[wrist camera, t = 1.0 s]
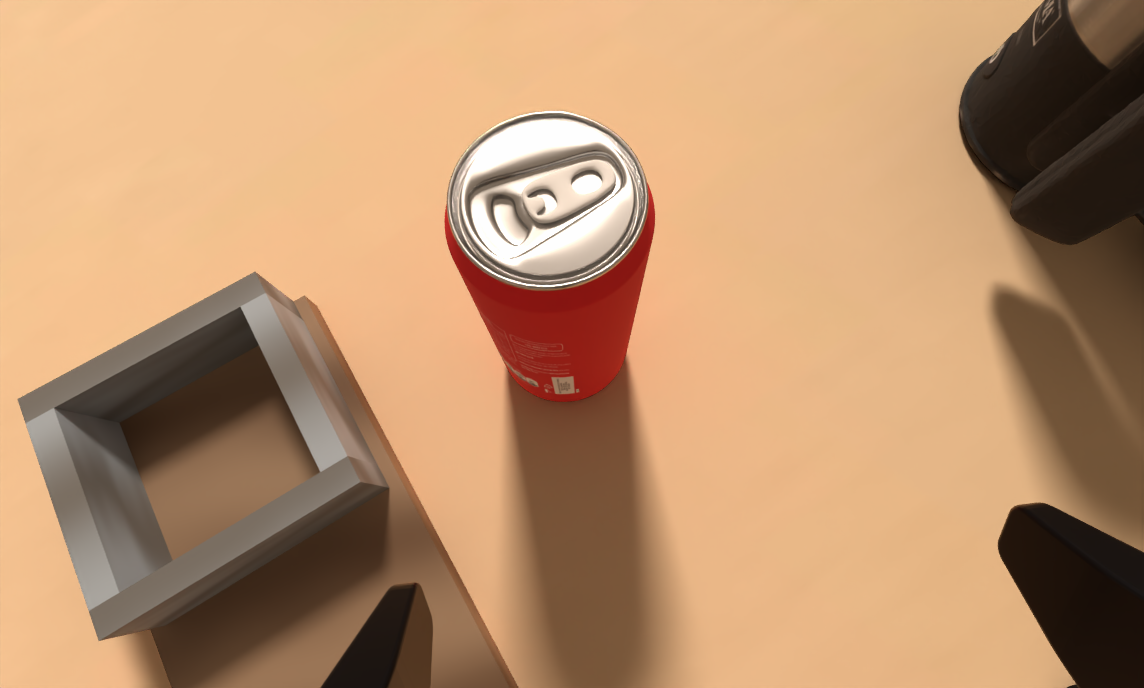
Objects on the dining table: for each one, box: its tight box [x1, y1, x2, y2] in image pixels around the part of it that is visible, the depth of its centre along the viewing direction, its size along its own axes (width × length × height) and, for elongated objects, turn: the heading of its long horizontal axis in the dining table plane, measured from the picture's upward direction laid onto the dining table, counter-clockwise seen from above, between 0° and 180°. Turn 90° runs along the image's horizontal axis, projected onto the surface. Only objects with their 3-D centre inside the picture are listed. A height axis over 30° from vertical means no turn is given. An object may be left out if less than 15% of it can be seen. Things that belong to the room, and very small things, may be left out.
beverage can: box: [445, 111, 655, 402], centre depth 19 cm, size 5×5×12 cm
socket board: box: [18, 272, 518, 688], centre depth 20 cm, size 21×10×4 cm, turn 32°
